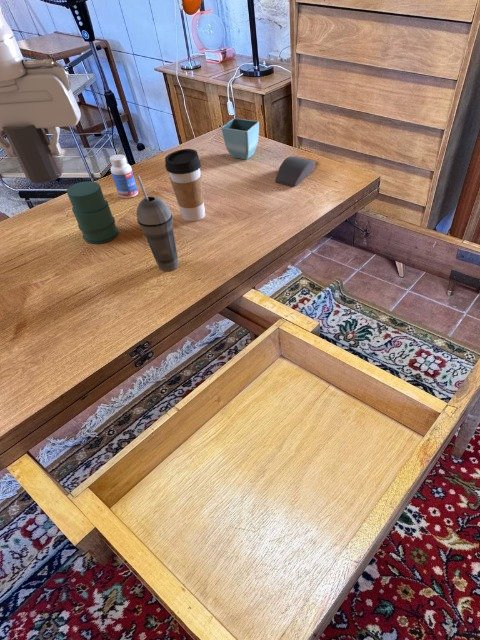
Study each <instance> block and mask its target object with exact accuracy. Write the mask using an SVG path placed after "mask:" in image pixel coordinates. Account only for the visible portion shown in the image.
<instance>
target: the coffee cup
mask: <svg viewBox="0 0 480 640" xmlns="http://www.w3.org/2000/svg"><path fill="white" fill-rule="evenodd" d="M164 162H165V165H164V167H165V171H167V172H168V174H169V175H168V176H169V181H170V184H171V187H172V190H173V192H174V195H175V199H176V202H177V205H178V207H179V211H180V213H181V217H182V219H183V220H184V221H186V222H198V221H201V220H202V219H204V218H205V217H206V210H205V197H204V187H203V177H202V175H203V174H202V172H201V167H202V162H201V159H200V157H199V153H198V151H197V150H195V149H193V148H182V149H180V150H175V151H173V152H170V153H168V154H166V156H165V157H164Z"/></svg>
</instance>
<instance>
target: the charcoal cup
mask: <svg viewBox="0 0 480 640" xmlns="http://www.w3.org/2000/svg"><path fill="white" fill-rule="evenodd" d="M2 128H3V130H4V131H3V132H4V134H5V136H6V138H7V140H8V143H9V144H10V145H11V147H12V149H13V151H14V153H15V155H16V159H17V161H18V163H19V165H20V168H21V169H22V171H23V174H24V176H25V178H26V180H27V182H29V183H33V184H44V183H45V184H46V183H49V182H52V181H53V182H54V181H56V180H57V179H59V178H60V177H61V176H62V174H63V172H62V169H61V166H60V163H59V162H58V159H57V156H56V155H52V154H51V152H50V151H51V150H50V149H49V147H48V144H49V142H50V140H49V138H48V135H47V132H46V131H45V128H36V127H35V125H30V126H27V127H22V128H7V127H2Z"/></svg>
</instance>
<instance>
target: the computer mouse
mask: <svg viewBox="0 0 480 640" xmlns="http://www.w3.org/2000/svg"><path fill="white" fill-rule="evenodd" d="M315 168H316V161H314V160H312V159H308V158H305V157H299V156H288V157H286V158H285V159H284V160H283V161H282V162H281V164H280V166H279V169H278V171H277V173H276V176H275V179H274V182H275V183H277V184H280V183H281V185H286V186H290V187H294V188H295V187H297V185H299V184H300V183H301V182H302V181H304V180H305V179H306V178H307V177H308V176H309V175H311V174H312V173H313V172H314V170H315Z"/></svg>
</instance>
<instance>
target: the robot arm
mask: <svg viewBox="0 0 480 640" xmlns="http://www.w3.org/2000/svg"><path fill="white" fill-rule="evenodd" d="M81 117H82V113H81V109H80V107H79V104H78V102H77V100H76V97H75V95H74V93H73V91H72V89H71V81H70V78H69V75H68V72H67V70H66V69H65V67H64V66H63V65H62V64H60V62H57V61H54V60H53V59H52V58H43V59H24V56H23V54H22V51H21V49H20V47H19V44H18V42H17V39H16V36H15V35H14V32H13V29H12V28H11V27H10V25H9V24H8V22H7V20H6V18H5V16H4V14H3V11H2V8H1V6H0V147H1V149H3V151H4V153H5V154H6V157H7V158H8V159H15V158H16V159H17V157H16V155H15V153H14V151H13V149H12V147H11V145H10V142H9V141H7V140H6V139H5V138H4V137H3V135H2V134H3V132H4V130H3V128H2V127H7V128H22V127H27V126H30V125H35V127H36V128H44V129H47V132H48V134H49V135H52V140H49V144H48V147H49V149H50V150H51V151H50V152H51V154H52V155H55V156H56V155H62V152H63V151H62V148H61V145H60V143H59V140H60V133H61V127H62V128H64V127H65V128H66V127H75V126H77V125H78V123H79V122H80V120H81Z"/></svg>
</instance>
